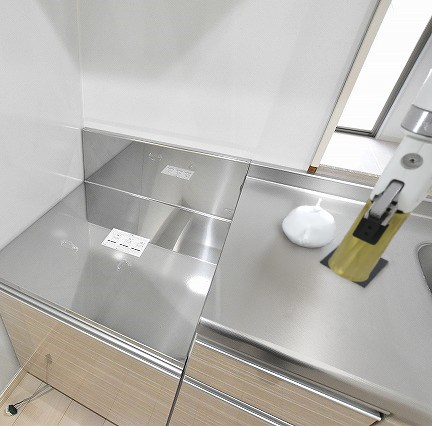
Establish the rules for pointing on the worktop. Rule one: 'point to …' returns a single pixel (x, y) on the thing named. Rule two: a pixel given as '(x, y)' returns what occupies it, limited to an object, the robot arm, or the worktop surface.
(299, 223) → the white garlic bulb
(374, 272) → the mat
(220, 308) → the worktop surface
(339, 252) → the vase
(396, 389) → the worktop surface
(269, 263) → the worktop surface
